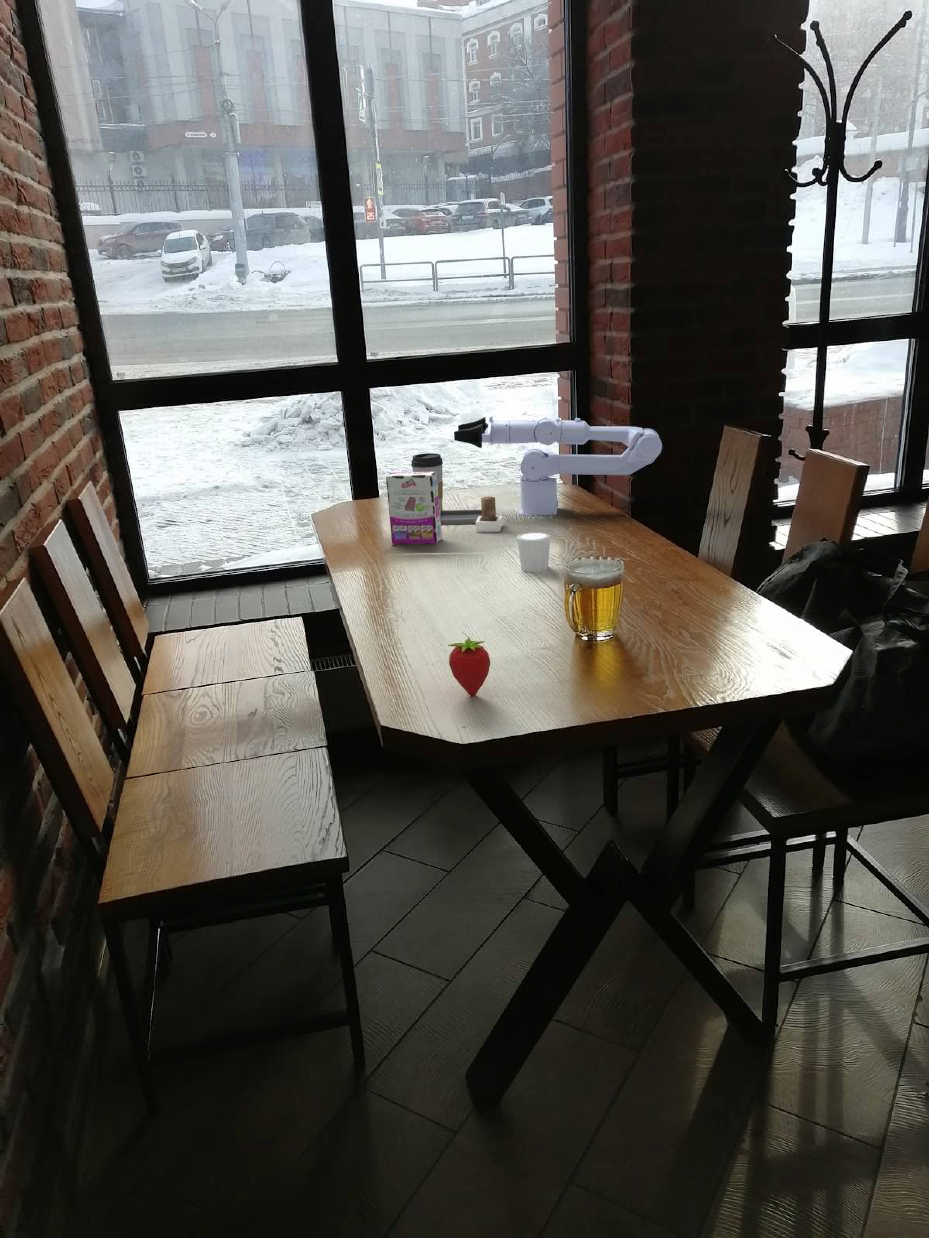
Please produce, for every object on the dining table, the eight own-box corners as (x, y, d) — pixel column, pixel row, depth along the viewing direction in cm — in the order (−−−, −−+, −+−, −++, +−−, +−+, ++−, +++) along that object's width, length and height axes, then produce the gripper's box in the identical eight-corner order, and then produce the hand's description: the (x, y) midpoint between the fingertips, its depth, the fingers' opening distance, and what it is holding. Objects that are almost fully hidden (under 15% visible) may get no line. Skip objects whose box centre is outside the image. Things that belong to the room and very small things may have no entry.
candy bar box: (442, 540, 219) (438, 470, 213) (437, 545, 214) (432, 475, 209) (397, 539, 222) (391, 471, 216) (391, 545, 217) (385, 475, 212)
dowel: (497, 526, 226) (495, 496, 224) (495, 530, 223) (494, 499, 220) (483, 527, 227) (481, 496, 224) (481, 530, 223) (480, 499, 221)
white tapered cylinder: (549, 573, 189) (548, 540, 187) (515, 573, 191) (514, 540, 188) (552, 563, 196) (552, 531, 193) (520, 563, 197) (519, 531, 195)
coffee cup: (410, 515, 244) (405, 458, 239) (420, 508, 251) (416, 452, 246) (440, 516, 241) (436, 458, 236) (450, 508, 249) (446, 452, 244)
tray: (492, 515, 239) (491, 509, 238) (487, 525, 230) (487, 518, 229) (438, 516, 241) (438, 510, 241) (432, 526, 232) (431, 520, 231)
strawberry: (455, 709, 132) (451, 643, 128) (447, 687, 139) (443, 625, 135) (496, 703, 132) (493, 638, 129) (486, 683, 139) (483, 620, 136)
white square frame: (502, 526, 227) (502, 515, 226) (500, 533, 222) (499, 521, 221) (479, 527, 228) (478, 516, 227) (476, 533, 223) (475, 522, 222)
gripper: (512, 410, 238) (459, 411, 240) (507, 421, 225) (451, 422, 227) (512, 437, 241) (460, 438, 243) (508, 450, 228) (453, 451, 229)
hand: (456, 432), depth 235 cm, fingers open, 7 cm apart
